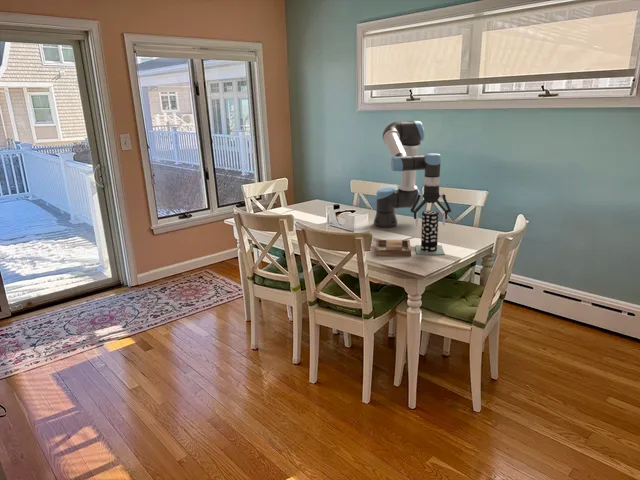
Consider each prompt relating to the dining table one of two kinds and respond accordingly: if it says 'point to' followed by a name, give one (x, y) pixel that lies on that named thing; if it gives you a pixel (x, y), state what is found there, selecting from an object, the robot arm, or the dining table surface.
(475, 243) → the dining table surface
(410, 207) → the robot arm
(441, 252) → the mat
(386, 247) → the offcut
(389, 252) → the rack
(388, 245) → the offcut
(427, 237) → the spotted tube
